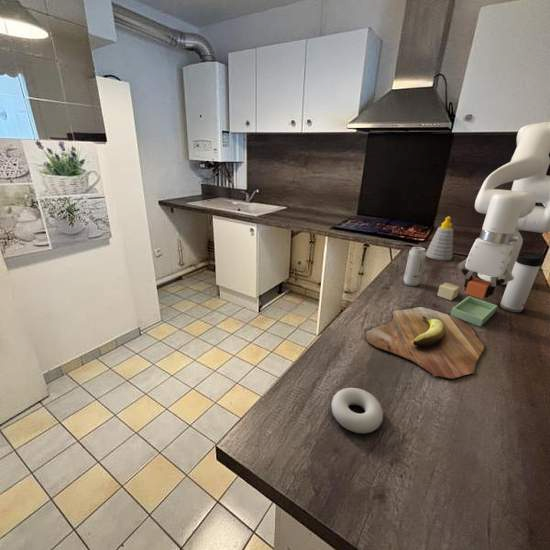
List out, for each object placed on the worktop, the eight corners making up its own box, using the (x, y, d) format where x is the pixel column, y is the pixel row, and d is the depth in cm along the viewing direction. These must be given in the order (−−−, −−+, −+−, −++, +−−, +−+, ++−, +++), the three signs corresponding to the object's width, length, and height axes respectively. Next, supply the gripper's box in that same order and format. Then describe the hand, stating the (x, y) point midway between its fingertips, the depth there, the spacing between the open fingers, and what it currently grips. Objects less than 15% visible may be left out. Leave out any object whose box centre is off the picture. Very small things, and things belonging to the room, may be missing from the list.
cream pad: (443, 291, 112) (445, 282, 111) (457, 296, 109) (459, 286, 107) (436, 295, 109) (439, 285, 107) (451, 300, 105) (453, 290, 104)
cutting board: (465, 393, 64) (470, 380, 63) (354, 341, 81) (356, 330, 80) (493, 330, 88) (497, 319, 86) (402, 300, 105) (404, 290, 103)
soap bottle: (452, 255, 153) (463, 217, 145) (451, 262, 143) (462, 221, 135) (426, 251, 159) (435, 214, 151) (423, 257, 149) (433, 218, 141)
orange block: (471, 288, 95) (474, 277, 94) (488, 294, 92) (492, 282, 90) (464, 293, 92) (468, 281, 90) (482, 299, 88) (486, 287, 87)
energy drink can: (414, 287, 115) (423, 251, 109) (400, 283, 119) (407, 248, 113) (421, 283, 118) (429, 248, 113) (407, 279, 123) (414, 245, 117)
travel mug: (527, 313, 98) (550, 257, 90) (505, 311, 99) (526, 255, 91) (516, 305, 103) (537, 251, 95) (496, 303, 104) (515, 249, 97)
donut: (369, 395, 63) (325, 397, 62) (372, 383, 62) (326, 384, 61) (390, 436, 54) (338, 439, 53) (394, 423, 53) (340, 425, 52)
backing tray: (466, 302, 104) (468, 295, 103) (495, 312, 98) (497, 305, 97) (450, 315, 96) (452, 308, 95) (480, 326, 90) (483, 319, 89)
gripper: (535, 241, 81) (513, 299, 88) (467, 229, 93) (453, 281, 100) (528, 246, 76) (505, 307, 83) (458, 232, 88) (443, 287, 95)
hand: (477, 292), depth 92 cm, fingers closed on orange block, 5 cm apart
